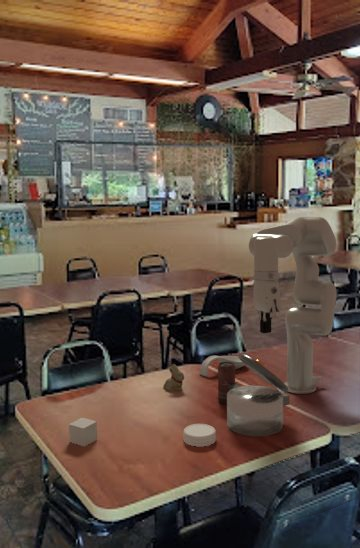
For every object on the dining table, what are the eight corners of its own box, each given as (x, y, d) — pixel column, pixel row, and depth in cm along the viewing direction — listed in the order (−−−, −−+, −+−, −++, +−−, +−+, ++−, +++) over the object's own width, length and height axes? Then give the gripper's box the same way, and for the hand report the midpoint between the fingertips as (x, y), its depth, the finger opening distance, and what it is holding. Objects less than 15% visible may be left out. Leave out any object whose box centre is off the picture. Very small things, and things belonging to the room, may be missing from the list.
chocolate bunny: (174, 393, 212) (174, 367, 211) (161, 388, 218) (161, 363, 217) (185, 389, 216) (185, 364, 215) (172, 384, 222) (172, 360, 220)
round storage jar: (259, 401, 202) (259, 375, 201) (299, 429, 179) (300, 399, 177) (208, 410, 195) (208, 383, 193) (243, 440, 171) (243, 409, 170)
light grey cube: (84, 447, 169) (83, 428, 168) (69, 442, 172) (68, 424, 172) (97, 439, 174) (96, 421, 173) (83, 435, 177) (82, 417, 177)
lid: (265, 381, 194) (271, 373, 194) (295, 400, 176) (302, 390, 177) (229, 351, 187) (236, 342, 187) (257, 367, 170) (264, 357, 170)
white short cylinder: (205, 450, 166) (205, 439, 165) (177, 443, 171) (177, 432, 171) (221, 437, 174) (221, 427, 174) (194, 431, 179) (193, 420, 179)
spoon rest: (233, 361, 251) (233, 346, 250) (252, 367, 242) (252, 351, 241) (193, 373, 236) (193, 356, 235) (212, 380, 227) (212, 363, 226)
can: (234, 404, 200) (234, 366, 198) (217, 403, 201) (216, 366, 199) (236, 398, 206) (236, 361, 204) (219, 397, 207) (219, 360, 205)
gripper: (289, 278, 172) (288, 336, 174) (264, 272, 185) (263, 326, 188) (267, 280, 169) (267, 339, 172) (244, 273, 183) (244, 328, 185)
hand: (265, 332), depth 180 cm, fingers closed
